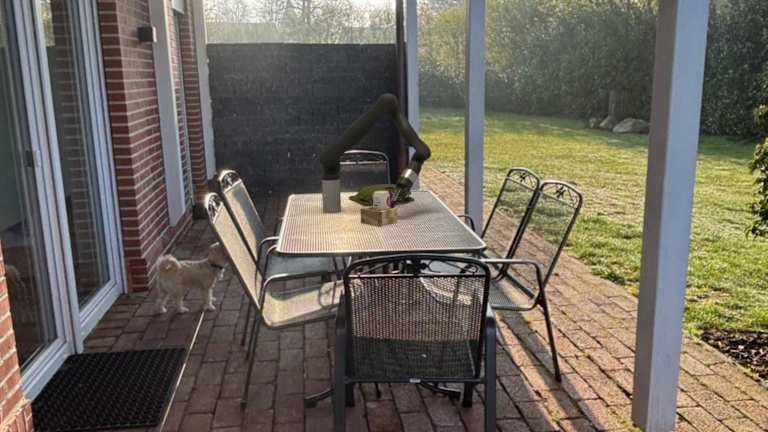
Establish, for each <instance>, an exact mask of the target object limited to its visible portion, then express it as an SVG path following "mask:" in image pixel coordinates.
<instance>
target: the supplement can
mask: <svg viewBox="0 0 768 432" xmlns="http://www.w3.org/2000/svg"><path fill="white" fill-rule="evenodd" d="M390 202H391V200H390V194H389V192H388V191H375V192H374V194H373V199H372V204H373V205H372V206H373V210H375V211H383V210H387V209H390Z"/></svg>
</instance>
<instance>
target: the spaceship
mask: <svg viewBox="0 0 768 432" xmlns="http://www.w3.org/2000/svg"><path fill="white" fill-rule="evenodd" d="M394 188H396V184H393V183H392V184H388V183H385V184H384V183H383V184H382V183H381V184H375V185H369V186H363V187H362V186H361V187H359V189H358V190H357V191H358V192H357V193H356V194H355V195H350V196H348V199H349V200H350V201H353V202H355V203H357V204H359V205H362V206H363V207H372V206H373V202H372V201H369V200H370V199H371V200H373V194H374V192H375V191H388V192H389V191H393V190H394ZM408 195H409V197H408V198H407V199H405V202H407V201H412V202H414V201H415V198H414V197H412V196H410V195H412V191H411V190H410V191H409V192H408ZM366 199H368V200H366Z"/></svg>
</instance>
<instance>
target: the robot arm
mask: <svg viewBox="0 0 768 432" xmlns="http://www.w3.org/2000/svg"><path fill="white" fill-rule="evenodd" d="M387 114H388V115H389V116H390V117H391V119H392V120H393V122H394V123H395V125H396V127H397V130H398V131H399V134H400V135H401V137H402V139H403V140H404V141H405V143H406V145H407V146H408V147H409V148H413V149H414V150H415V151H414V152H413V154H412V156H411V158H410V161H409V162H408V164H407V166H406V168H405V169H404V170H403V172H402V173H401V174H400V177H399V178H398V180H397V181H396V184H395V185H396V188H394V190H393V191H389V194H390V209H392V208H396V205H397V204H398V203H399V204H401V203H403V202H404V200H405V199H407V198H408V197H410V195H408V192H409V191H411V189H412V187H413V186H414V184H415V183H416V180H417V179H418V176H419V174H420V173H421V171H422V168H423V167H422V166H423V164H424V163H425V162H426V161H428V160H429V159H430V158H431V157H432V152H431V149H430V147H429V145H427V144H426V142H424V140H423V139H421V138H420V136H419V135H418V133H417V132H416V131H415V129H414V127H413V126H412V125H411V123H410V121H409V120H408V119H407V117H406V115H405V113H404V111H403V109H402V108H401V106H400V103H399V101H398V98H397V97H396V96H395V95H394V94H393V93H383V94H382V95H380V96H379V97H378V98H377V100H376V101H375V102H374V104H372V105H371V106H370V108H369V109H368V110H367V111H366V112H364V113H363V114H362V115H360V116H359V117H358V118H357V119H356V120H354V122H353V123H352V124H350V126H349V127H347V128H346V129H345V131H344V132H343V133H342V134H341V135H340V136H339V138H338V139H337V140H335V142H334V143H333V144H331V145H329V147H327V148H326V149H324V150H323V151H322V152H321V153H320V155H319V163H320V165H321V166H322V167H323V171H322V173H321V174H322V175H321V180H322V181H321V182H322V194H321V196H322V200H321V201H322V212H323V213H324V214H336V213H339V212H342V200H341V197H342V196H341V181H340V180H341V179H340V175H341V158H342V156H343V155H344V154H345V153H346V152H348V150H350V149H352V148H354V147H355V146H356V145H357V144H358V143H360V142H361V141H362V140H363V139H365V137H366V136H368V135H369V133H371V131H372V130H373V128H374V127H375V125H376V124H377V123H378V122H379V121H380V120H381V119H382V118H383V117H384V116H386V115H387Z"/></svg>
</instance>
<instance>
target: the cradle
mask: <svg viewBox="0 0 768 432" xmlns="http://www.w3.org/2000/svg"><path fill="white" fill-rule="evenodd" d="M360 223H361V224H365V225H369V226H375V227H380V228H381V227H385V226H388V225H392V224H396V223H398V210H397V207H394V208H392V209H387V210H383V211H375V210H373V205H372V206H366V207H363V208H360Z"/></svg>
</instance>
